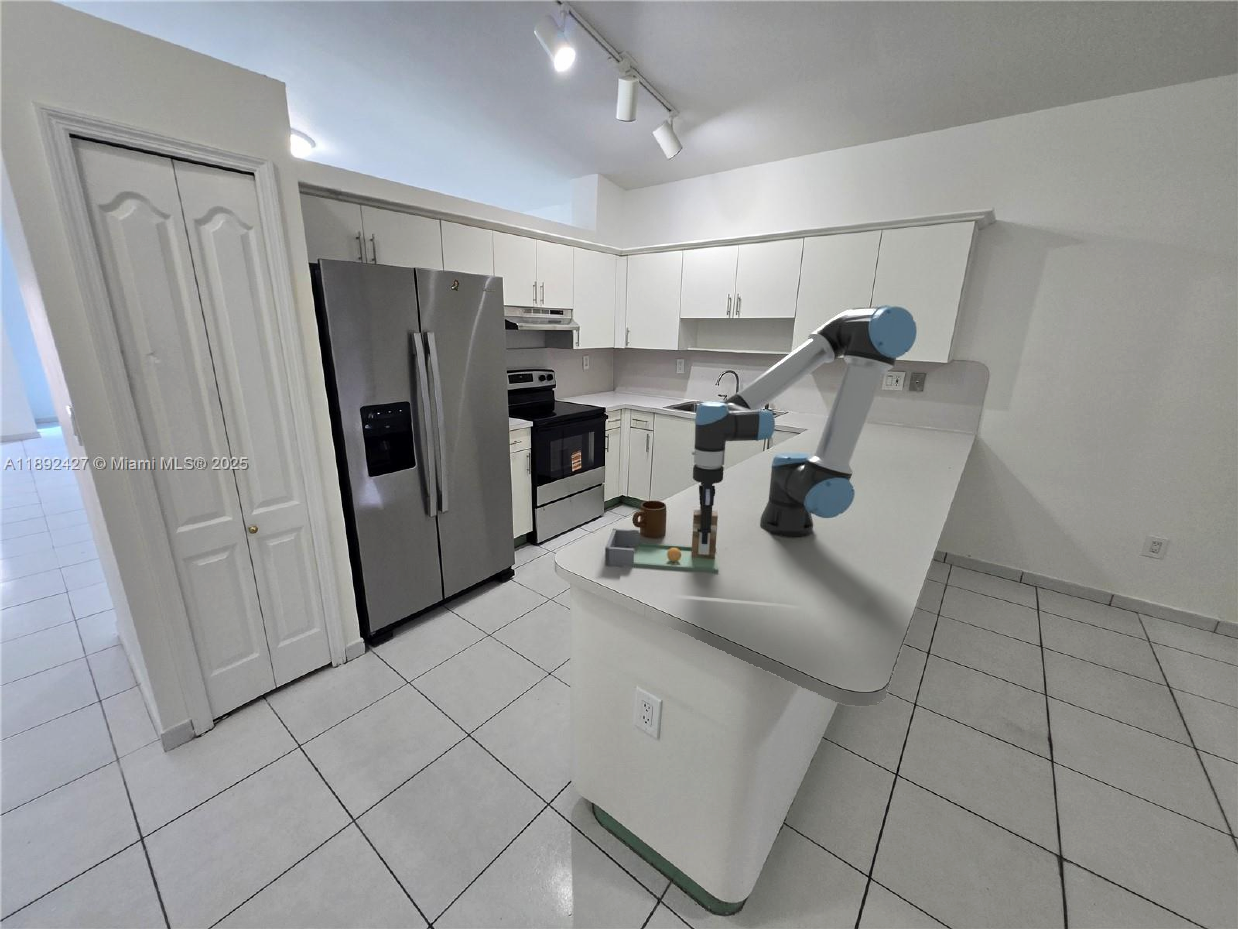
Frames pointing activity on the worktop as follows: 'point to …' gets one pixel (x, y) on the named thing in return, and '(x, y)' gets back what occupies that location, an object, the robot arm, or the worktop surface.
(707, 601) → the worktop surface
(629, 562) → the pitch
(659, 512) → the mug
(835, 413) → the robot arm
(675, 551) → the ball
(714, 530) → the block
